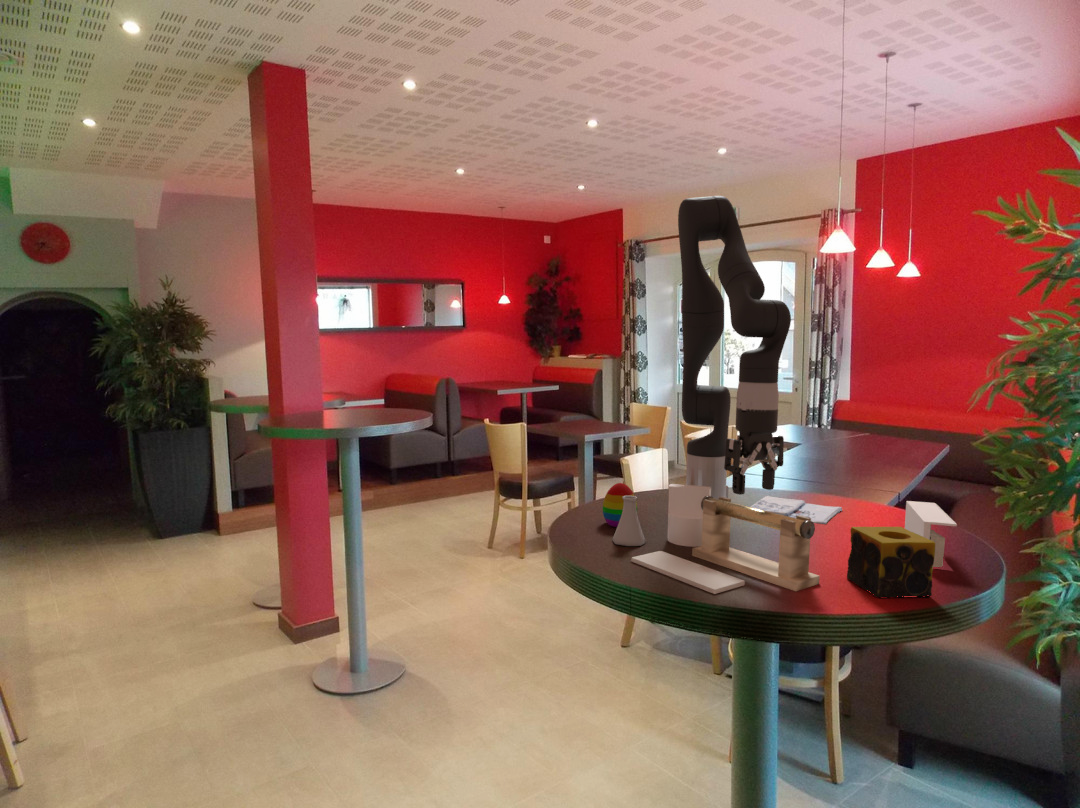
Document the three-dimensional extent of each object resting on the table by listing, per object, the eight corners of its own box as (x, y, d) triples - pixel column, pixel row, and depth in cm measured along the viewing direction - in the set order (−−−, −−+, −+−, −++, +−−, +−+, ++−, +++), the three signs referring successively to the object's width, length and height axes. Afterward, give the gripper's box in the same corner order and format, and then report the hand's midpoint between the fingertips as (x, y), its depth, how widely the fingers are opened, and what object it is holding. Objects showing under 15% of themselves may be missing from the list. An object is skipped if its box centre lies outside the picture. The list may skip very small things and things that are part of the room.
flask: (644, 548, 144) (646, 501, 143) (610, 546, 145) (611, 499, 144) (646, 538, 151) (647, 494, 150) (613, 536, 152) (614, 492, 151)
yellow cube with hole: (845, 579, 126) (848, 526, 126) (897, 578, 127) (900, 525, 126) (877, 599, 116) (880, 542, 115) (933, 598, 117) (936, 541, 116)
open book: (767, 501, 190) (767, 493, 190) (844, 512, 179) (844, 504, 179) (743, 514, 175) (743, 506, 175) (826, 528, 163) (827, 519, 163)
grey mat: (660, 554, 139) (660, 550, 139) (744, 585, 122) (744, 580, 122) (631, 561, 135) (631, 557, 135) (714, 594, 118) (714, 589, 118)
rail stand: (715, 549, 143) (717, 494, 142) (819, 583, 123) (822, 519, 122) (692, 555, 139) (694, 498, 138) (795, 591, 119) (798, 525, 118)
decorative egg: (633, 520, 166) (634, 479, 165) (639, 529, 158) (640, 486, 157) (600, 520, 166) (601, 479, 165) (604, 529, 158) (605, 486, 157)
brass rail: (700, 512, 139) (701, 496, 139) (711, 510, 141) (711, 494, 141) (803, 540, 120) (804, 522, 120) (814, 537, 122) (815, 519, 121)
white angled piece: (953, 572, 131) (957, 524, 130) (921, 569, 133) (924, 521, 132) (930, 543, 150) (933, 501, 149) (902, 541, 152) (905, 499, 151)
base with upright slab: (711, 537, 153) (712, 484, 151) (707, 548, 144) (709, 492, 143) (670, 533, 155) (672, 481, 154) (664, 543, 147) (665, 489, 146)
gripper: (764, 403, 136) (760, 484, 137) (715, 406, 128) (712, 491, 129) (797, 406, 129) (793, 491, 131) (748, 409, 121) (744, 499, 123)
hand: (753, 491), depth 130 cm, fingers open, 8 cm apart
